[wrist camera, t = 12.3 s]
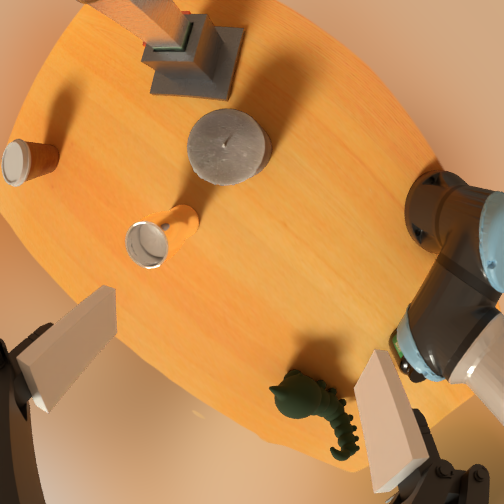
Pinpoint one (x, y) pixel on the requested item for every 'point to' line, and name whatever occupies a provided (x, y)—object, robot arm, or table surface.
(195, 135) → the pillar candle
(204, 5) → the table surface
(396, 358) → the supplement bottle
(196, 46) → the jack stand
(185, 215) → the beer glass
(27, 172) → the disposable coffee cup
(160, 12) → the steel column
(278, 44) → the table surface
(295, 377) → the toy figurine
